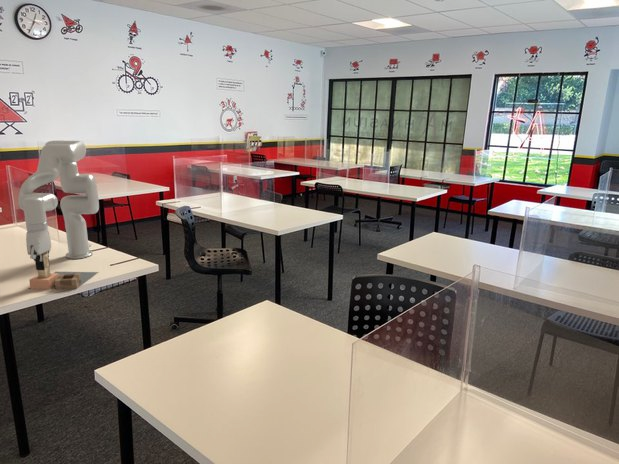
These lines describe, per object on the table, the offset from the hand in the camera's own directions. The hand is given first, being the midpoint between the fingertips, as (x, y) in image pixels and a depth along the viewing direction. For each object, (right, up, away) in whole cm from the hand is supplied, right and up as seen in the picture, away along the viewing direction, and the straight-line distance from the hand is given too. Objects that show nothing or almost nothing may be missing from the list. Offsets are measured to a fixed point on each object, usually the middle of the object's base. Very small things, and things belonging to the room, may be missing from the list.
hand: (43, 268), depth 190 cm
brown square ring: (+10, -8, +2) cm, 13 cm away
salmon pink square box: (0, -8, +2) cm, 8 cm away
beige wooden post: (0, -6, +2) cm, 6 cm away
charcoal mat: (+5, -6, +8) cm, 12 cm away
